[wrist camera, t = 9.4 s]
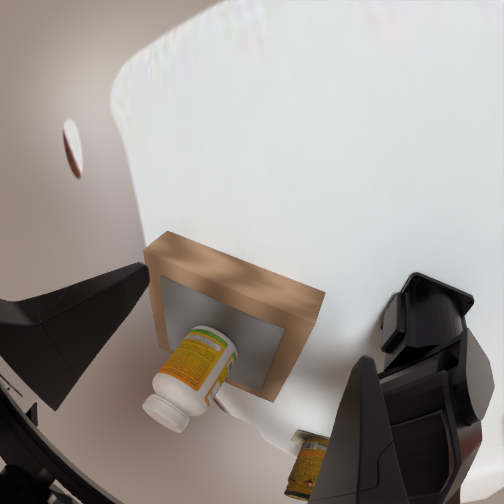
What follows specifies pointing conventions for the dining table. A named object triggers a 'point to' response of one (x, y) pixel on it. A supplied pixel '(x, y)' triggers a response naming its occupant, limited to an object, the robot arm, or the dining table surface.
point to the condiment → (306, 465)
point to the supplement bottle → (191, 377)
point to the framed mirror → (231, 309)
